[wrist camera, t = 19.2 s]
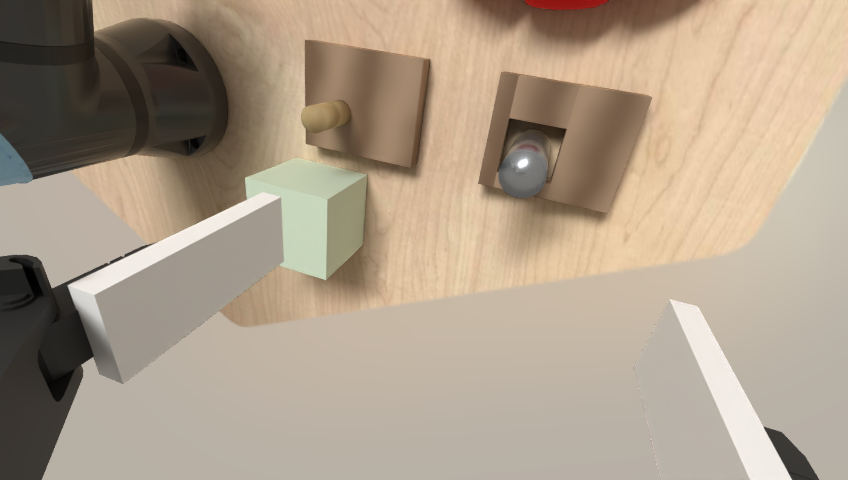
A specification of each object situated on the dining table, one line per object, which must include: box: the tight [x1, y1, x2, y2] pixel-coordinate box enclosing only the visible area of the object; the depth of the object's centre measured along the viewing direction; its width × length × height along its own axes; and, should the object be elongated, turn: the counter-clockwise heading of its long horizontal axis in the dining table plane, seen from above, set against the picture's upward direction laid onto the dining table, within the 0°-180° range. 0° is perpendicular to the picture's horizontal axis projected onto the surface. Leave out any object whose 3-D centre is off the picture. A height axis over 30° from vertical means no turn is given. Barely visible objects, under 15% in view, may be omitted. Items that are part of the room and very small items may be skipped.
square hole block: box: [478, 72, 652, 213], centre depth 35 cm, size 12×10×2 cm
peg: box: [498, 129, 550, 198], centre depth 33 cm, size 3×3×10 cm
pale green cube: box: [245, 158, 367, 280], centre depth 43 cm, size 9×9×9 cm
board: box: [301, 40, 430, 168], centre depth 37 cm, size 12×10×7 cm
